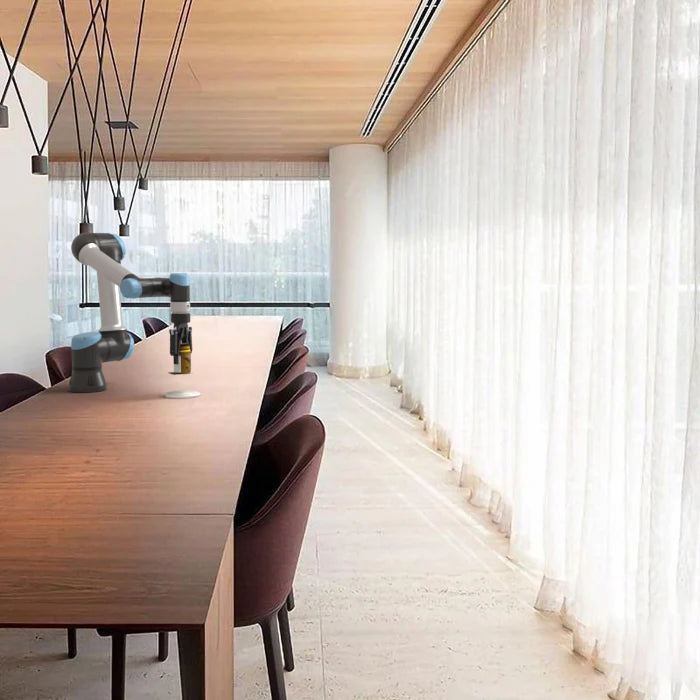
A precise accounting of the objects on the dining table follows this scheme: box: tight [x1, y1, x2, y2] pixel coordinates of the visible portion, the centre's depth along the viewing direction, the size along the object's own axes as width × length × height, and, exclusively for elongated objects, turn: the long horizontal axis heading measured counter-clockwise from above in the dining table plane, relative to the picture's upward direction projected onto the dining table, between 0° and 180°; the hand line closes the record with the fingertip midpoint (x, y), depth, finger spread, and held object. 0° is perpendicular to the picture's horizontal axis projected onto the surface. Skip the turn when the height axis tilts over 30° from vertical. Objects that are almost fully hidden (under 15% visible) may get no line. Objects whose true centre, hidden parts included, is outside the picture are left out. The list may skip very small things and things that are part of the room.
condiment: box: [167, 342, 195, 376], centre depth 308 cm, size 7×8×12 cm
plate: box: [163, 389, 201, 400], centre depth 310 cm, size 14×14×1 cm
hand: (181, 371), depth 309 cm, fingers closed on condiment, 6 cm apart
